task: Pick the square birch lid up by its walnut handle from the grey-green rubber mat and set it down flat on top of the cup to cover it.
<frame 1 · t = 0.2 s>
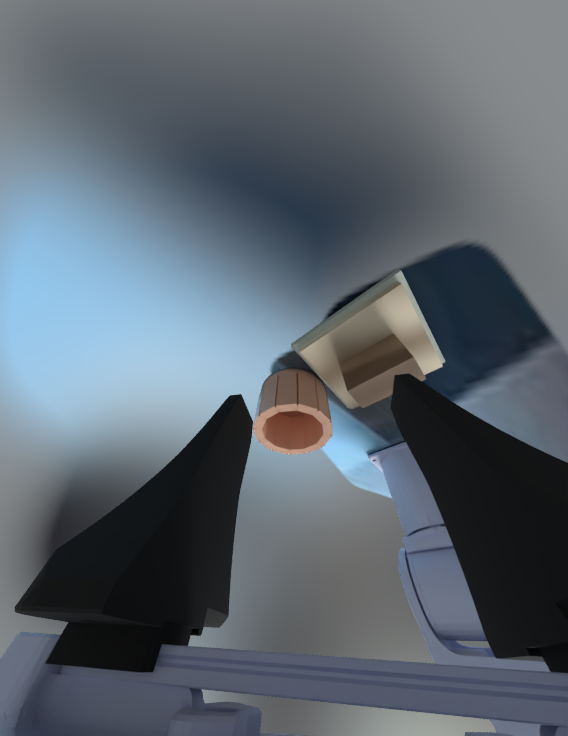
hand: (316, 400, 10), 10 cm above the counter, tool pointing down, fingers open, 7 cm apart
mat: (367, 351, 19), on the counter
lid: (368, 354, 19), point 1 cm above the counter, touching mat
cup: (293, 394, 23), on the counter
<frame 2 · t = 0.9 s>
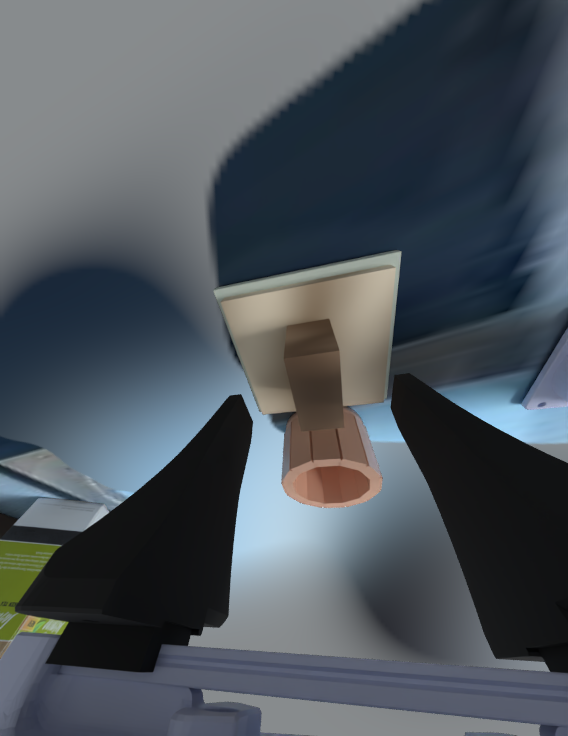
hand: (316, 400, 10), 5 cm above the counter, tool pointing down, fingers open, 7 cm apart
tea box: (92, 516, 36), on the counter
mat: (311, 347, 14), on the counter
lid: (312, 352, 14), point 1 cm above the counter, touching mat
cup: (323, 430, 19), on the counter
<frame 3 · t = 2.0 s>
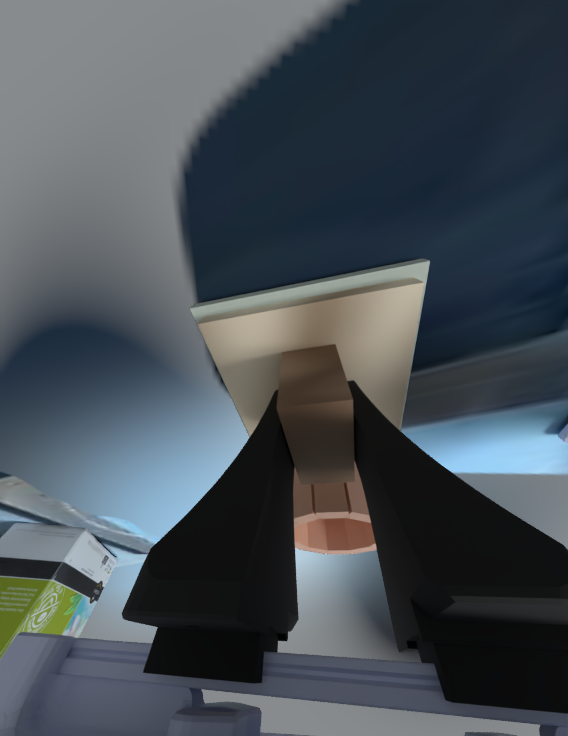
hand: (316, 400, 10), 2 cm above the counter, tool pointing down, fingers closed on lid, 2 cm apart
tea box: (76, 539, 33), on the counter
mat: (312, 373, 12), on the counter
lid: (313, 380, 11), point 1 cm above the counter, touching gripper, mat
cup: (326, 459, 17), on the counter
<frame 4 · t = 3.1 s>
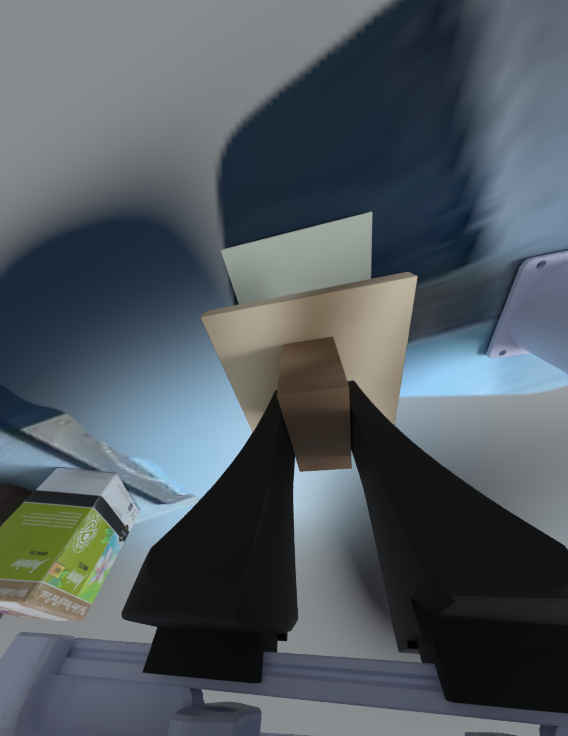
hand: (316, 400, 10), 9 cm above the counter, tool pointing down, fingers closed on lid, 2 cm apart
tea box: (105, 488, 38), on the counter
mat: (303, 304, 17), on the counter
lid: (312, 372, 12), point 7 cm above the counter, touching gripper
brown cauldron: (17, 497, 42), on the counter
when the fingers open (8 cm above the counter, at t = 4.1 s): lid stays where it is, resting on cup.
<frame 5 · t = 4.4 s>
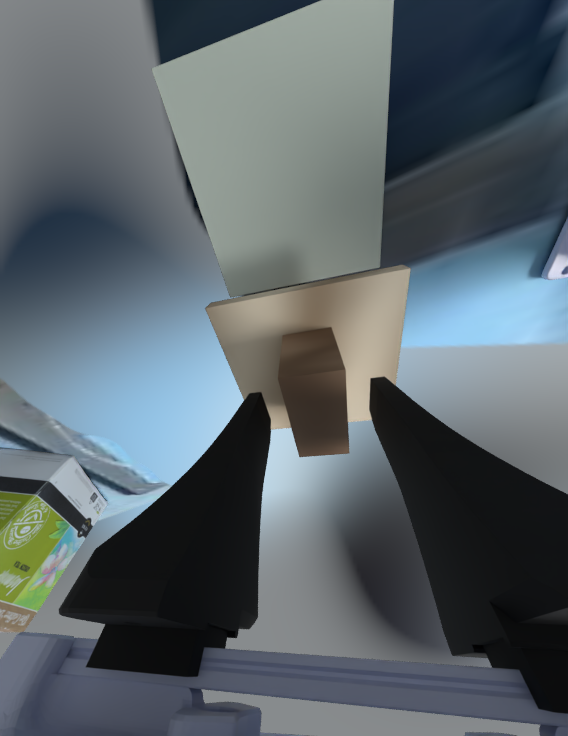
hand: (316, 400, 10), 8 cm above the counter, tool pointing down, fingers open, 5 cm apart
tea box: (64, 475, 33), on the counter
mat: (286, 187, 12), on the counter
lid: (311, 363, 12), point 5 cm above the counter, touching cup
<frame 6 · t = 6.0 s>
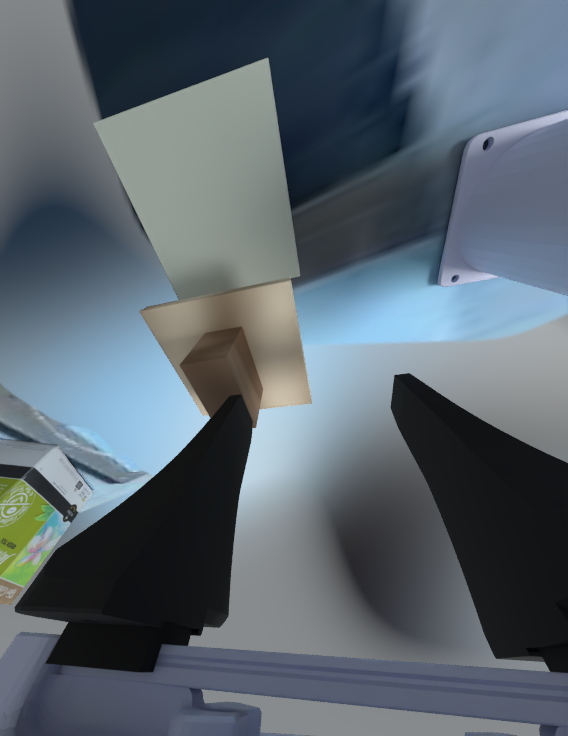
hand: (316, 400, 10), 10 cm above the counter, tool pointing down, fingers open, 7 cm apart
tea box: (51, 465, 36), on the counter
mat: (215, 211, 14), on the counter
lid: (239, 357, 15), point 5 cm above the counter, touching cup
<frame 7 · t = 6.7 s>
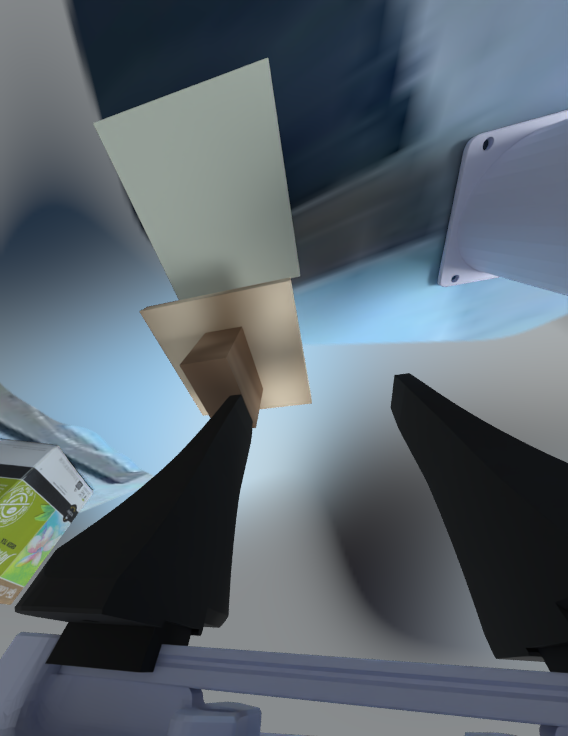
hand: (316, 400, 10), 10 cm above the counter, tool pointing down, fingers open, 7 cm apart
tea box: (51, 465, 36), on the counter
mat: (215, 211, 14), on the counter
lid: (239, 357, 15), point 5 cm above the counter, touching cup
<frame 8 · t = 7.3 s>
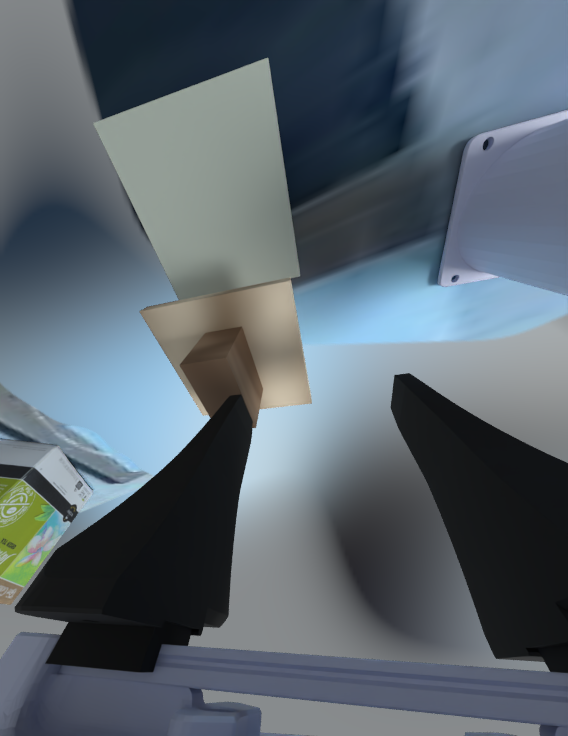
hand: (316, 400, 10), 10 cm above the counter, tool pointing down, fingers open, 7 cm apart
tea box: (51, 465, 36), on the counter
mat: (215, 211, 14), on the counter
lid: (239, 357, 15), point 5 cm above the counter, touching cup
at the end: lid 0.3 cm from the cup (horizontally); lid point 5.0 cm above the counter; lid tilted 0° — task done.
